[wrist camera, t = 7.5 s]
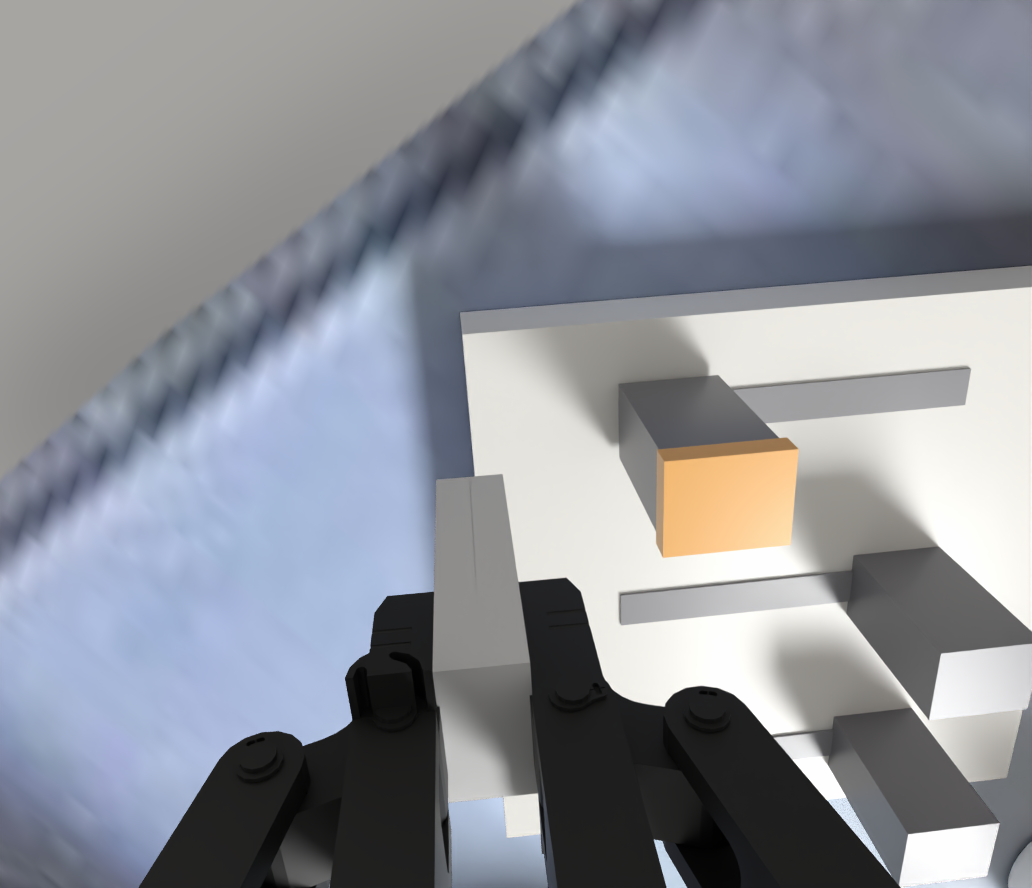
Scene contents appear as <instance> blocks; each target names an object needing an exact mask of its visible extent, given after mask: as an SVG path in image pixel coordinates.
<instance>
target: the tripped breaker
mask: <svg viewBox="0 0 1032 888" xmlns="http://www.w3.org/2000/svg"><path fill="white" fill-rule="evenodd" d="M618 385H619V458H620V460H621V462H622V464H623V466H624V468H625V470H626V472H627V474H628V476H629V478H630V480H631V482H632V484H633V486H634V488H635V490H636V492H637V494H638V496H639V498H640V500H641V502H642V504H643V506H644V508H645V510H646V512H647V514H648V516H649V519H650V521H651V523H652V525H653V527H654V529H655V531H656V544H657V547H658V549H659V551H660V553H661V555H662V557H663V558H667V557H677V556H687V555H697V554H706V553H716V552H726V551H736V550H746V549H756V548H766V547H776V546H786V545H791V534H792V522H793V511H794V499H795V487H796V476H797V464H798V453H799V449H798V448H797V447H796V446H795V445H794V444H793V443H792V442H791V441H790V440H789V439H788V438H787V437H786V438H779V437H778V436H777V435H776V434H775V433H774V432H773V431H772V430H771V429H770V428H769V427H768V426H767V425H766V424H765V423H764V422H763V421H762V420H761V419H760V418H759V417H758V416H757V414H756V413H755V412H754V411H753V410H752V409H751V408H750V407H749V406H748V405H747V404H746V403H745V402H744V401H743V400H742V399H741V398H740V397H739V396H738V395H737V394H736V393H735V392H734V391H733V390H732V389H731V388H730V387H729V386H728V385H727V384H726V383H725V382H724V381H723V380H722V378H721V377H720V376H719V375H712V376H701V377H690V378H678V379H667V380H655V381H644V382H633V383H621V384H618Z"/></svg>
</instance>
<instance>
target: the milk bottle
mask: <svg viewBox="0 0 1032 888" xmlns="http://www.w3.org/2000/svg"><path fill="white" fill-rule="evenodd" d="M1008 888H1032V841H1031V842H1030V843H1029V844H1028V845H1027V846H1026V847H1025V848H1024V850H1023V851H1022V852H1021V853H1020V854H1019V856H1018V857H1017V859H1016V861H1015V863H1014V864H1013V866H1012V868H1011V872H1010V875H1009V877H1008Z"/></svg>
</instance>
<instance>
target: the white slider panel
mask: <svg viewBox="0 0 1032 888" xmlns="http://www.w3.org/2000/svg"><path fill="white" fill-rule="evenodd" d="M460 320H461V331H462V342H463V353H464V365H465V376H466V387H467V399H468V410H469V421H470V432H471V444H472V455H473V466H474V476H485V475H496V474H503V480H504V487H505V494H506V500H507V507H508V514H509V521H510V528H511V535H512V542H513V548H514V555H515V562H516V569H517V576H518V582H524V581H535V580H545V579H556V578H567V579H568V580H569V581H571V582H572V583H573V584H574V585H575V586H576V587H577V588H578V589H579V590H580V591H581V594H582V598H583V602H584V605H585V611H586V613H587V617H588V621H589V626H590V628H591V632H592V636H593V640H594V643H595V647H596V651H597V655H598V659H599V662H600V666H601V670H602V674H603V676H604V679H605V681H607V682H608V683H609V685H610V687H611V688H612V690H614V691H615V692H616V693H618V694H619V695H621V696H622V697H625V698H627V699H629V700H632V701H635V702H639V703H644V704H649V705H656V706H663V707H665V703H666V702H667V701H668V700H669V698H670V697H671V696H672V695H673V694H674V693H676V692H678V691H680V690H682V689H684V688H688V687H696V686H708V687H715V688H719V689H722V690H724V691H727V692H729V693H732V694H734V695H735V696H736V697H737V698H738V699H740V700H741V701H742V702H743V703H745V705H746V706H747V707H748V708H749V709H750V710H751V712H752V713H753V714H754V715H755V716H756V717H757V719H758V720H759V721H760V722H761V723H762V725H763V726H764V727H765V728H766V729H767V730H768V732H769V733H770V734H771V735H772V736H773V737H774V739H775V740H776V741H777V742H778V743H779V745H780V746H781V747H782V748H783V749H784V750H785V752H786V753H787V754H788V755H789V756H790V758H791V759H792V760H793V761H794V762H795V763H796V765H797V766H798V767H799V768H800V769H801V770H802V772H803V773H804V774H805V775H806V776H807V778H808V779H809V780H810V781H811V782H812V783H813V785H814V786H815V787H816V788H817V789H818V791H819V792H820V793H821V794H822V795H823V796H824V798H825V799H826V800H828V799H836V798H844V797H846V798H847V799H848V801H849V803H850V805H851V806H852V808H853V810H854V812H855V813H856V815H857V817H858V818H859V820H860V822H861V824H862V825H863V827H864V829H865V831H866V832H867V834H868V836H869V837H870V839H871V841H872V843H873V844H874V846H875V848H876V850H877V851H878V853H879V855H880V857H881V858H882V860H883V862H884V863H885V865H886V867H887V869H888V870H889V872H890V874H891V876H892V877H893V879H894V880H895V881H896V882H897V884H898V885H899V886H900V887H907V886H915V885H923V884H931V883H939V882H947V881H955V880H962V879H970V878H978V877H986V876H987V874H988V870H989V866H990V862H991V858H992V853H993V849H994V845H995V841H996V837H997V833H998V829H999V824H1000V823H999V821H998V820H997V819H996V817H995V816H994V815H993V813H992V812H991V811H990V810H989V808H988V807H987V806H986V804H985V803H984V802H983V800H982V799H981V798H980V796H979V795H978V794H977V793H976V791H975V790H974V789H973V787H972V786H971V785H970V783H969V782H978V781H986V780H994V779H1003V778H1007V775H1008V770H1009V766H1010V762H1011V758H1012V754H1013V750H1014V745H1015V741H1016V737H1017V733H1018V729H1019V724H1020V720H1021V716H1022V712H1023V710H1024V709H1028V705H1029V700H1030V696H1031V692H1032V266H1021V267H1009V268H996V269H984V270H972V271H960V272H947V273H935V274H923V275H911V276H899V277H886V278H874V279H862V280H850V281H837V282H825V283H813V284H801V285H789V286H776V287H764V288H752V289H740V290H727V291H715V292H703V293H691V294H679V295H666V296H654V297H642V298H630V299H617V300H605V301H593V302H581V303H569V304H556V305H544V306H532V307H520V308H508V309H495V310H483V311H471V312H460ZM712 375H719V376H720V377H721V378H722V380H723V381H724V382H725V383H726V384H727V385H728V386H729V387H730V388H731V389H732V390H733V391H734V392H735V393H736V394H737V395H738V396H739V397H740V398H741V399H742V400H743V401H744V402H745V403H746V404H747V405H748V406H749V407H750V408H751V409H752V410H753V411H754V412H755V413H756V414H757V416H758V417H759V418H760V419H761V420H762V421H763V422H764V423H765V424H766V425H767V426H768V427H769V428H770V429H771V430H772V431H773V432H774V433H775V434H776V435H777V436H778V437H779V438H786V437H787V438H788V439H789V440H790V441H791V442H792V443H793V444H794V445H795V446H796V447H797V448H798V449H799V453H798V464H797V476H796V487H795V499H794V511H793V522H792V534H791V545H786V546H776V547H766V548H756V549H746V550H736V551H726V552H716V553H706V554H697V555H687V556H677V557H667V558H663V557H662V555H661V553H660V551H659V549H658V547H657V544H656V531H655V529H654V527H653V525H652V523H651V521H650V519H649V516H648V514H647V512H646V510H645V508H644V506H643V504H642V502H641V500H640V498H639V496H638V494H637V492H636V490H635V488H634V486H633V484H632V482H631V480H630V478H629V476H628V474H627V472H626V470H625V468H624V466H623V464H622V462H621V460H620V458H619V385H618V384H621V383H633V382H644V381H655V380H667V379H678V378H690V377H701V376H712ZM503 802H504V813H505V823H506V833H507V838H511V837H520V836H528V835H536V834H541V831H540V815H539V800H538V793H537V794H527V795H518V796H508V797H503Z"/></svg>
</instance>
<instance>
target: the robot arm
mask: <svg viewBox="0 0 1032 888" xmlns="http://www.w3.org/2000/svg"><path fill="white" fill-rule="evenodd" d="M370 646H371V649H370V653H369V654H367V655H365V656H363V657H361V658H359V659H358V660H357V661H356V662H355V663H354V664H353V665H352V666H351V667H350V668H349V670H348V673H347V675H346V677H345V681H346V687H347V692H348V698H349V703H350V709H351V714H352V722H351V723H350V724H349V725H347V726H346V727H345V728H343V729H342V730H340V731H339V732H337V733H336V734H334V735H331V736H329V737H327V738H325V739H322V740H319V741H316V742H313V743H311V744H308V745H305V746H302V743H301V742H300V741H299V740H298V739H297V738H295V737H294V736H293V735H291V734H287V733H283V732H279V731H276V732H262V733H259V734H256V735H253V736H250V737H247V738H244V739H243V740H241V741H240V742H238V743H237V744H235V745H234V746H232V747H230V748H229V749H228V751H227V752H226V753H225V754H224V755H223V756H222V757H221V758H220V760H219V761H218V762H217V764H216V766H215V767H214V769H213V770H212V772H211V774H210V775H209V777H208V778H207V780H206V782H205V783H204V785H203V786H202V788H201V789H200V791H199V793H198V794H197V796H196V797H195V799H194V801H193V802H192V804H191V805H190V807H189V808H188V810H187V812H186V813H185V815H184V816H183V818H182V820H181V821H180V823H179V824H178V826H177V828H176V829H175V831H174V832H173V834H172V835H171V837H170V839H169V840H168V842H167V843H166V845H165V847H164V848H163V850H162V851H161V853H160V855H159V856H158V858H157V859H156V861H155V862H154V864H153V866H152V867H151V869H150V870H149V872H148V874H147V875H146V877H145V878H144V880H143V881H142V883H141V885H140V886H139V888H452V863H451V826H450V818H449V810H448V799H449V803H452V802H462V801H471V800H480V799H490V798H499V797H508V796H518V795H527V794H537V793H538V800H539V815H540V831H541V846H542V854H544V858H545V866H546V874H547V882H548V888H666V884H665V880H664V877H663V873H662V869H661V866H660V862H659V858H658V854H657V851H656V847H655V843H654V840H653V839H655V840H661V841H663V844H664V847H665V850H666V852H667V853H668V855H669V857H670V859H671V860H672V862H673V864H674V865H675V867H676V869H677V871H678V872H679V874H680V876H681V877H682V879H683V881H684V883H685V884H686V886H687V888H901V887H900V886H899V885H898V884H897V882H896V881H895V880H894V879H893V878H892V877H891V875H890V874H889V873H888V872H887V871H886V869H885V868H884V867H883V866H882V865H881V864H880V862H879V861H878V860H877V859H876V858H875V856H874V855H873V854H872V853H871V852H870V851H869V849H868V848H867V847H866V846H865V845H864V844H863V842H862V841H861V840H860V839H859V838H858V836H857V835H856V834H855V833H854V832H853V831H852V829H851V828H850V827H849V826H848V825H847V824H846V822H845V821H844V820H843V819H842V818H841V816H840V815H839V814H838V813H837V812H836V811H835V809H834V808H833V807H832V806H831V805H830V803H829V802H828V801H827V800H826V799H825V798H824V796H823V795H822V794H821V793H820V792H819V791H818V789H817V788H816V787H815V786H814V785H813V783H812V782H811V781H810V780H809V779H808V778H807V776H806V775H805V774H804V773H803V772H802V770H801V769H800V768H799V767H798V766H797V765H796V763H795V762H794V761H793V760H792V759H791V758H790V756H789V755H788V754H787V753H786V752H785V750H784V749H783V748H782V747H781V746H780V745H779V743H778V742H777V741H776V740H775V739H774V737H773V736H772V735H771V734H770V733H769V732H768V730H767V729H766V728H765V727H764V726H763V725H762V723H761V722H760V721H759V720H758V719H757V717H756V716H755V715H754V714H753V713H752V712H751V710H750V709H749V708H748V707H747V706H746V705H745V703H743V702H742V701H741V700H740V699H738V698H737V697H736V696H735V695H734V694H732V693H729V692H727V691H724V690H722V689H719V688H715V687H708V686H696V687H688V688H684V689H682V690H680V691H678V692H676V693H674V694H673V695H672V696H671V697H670V698H669V700H668V701H667V702H666V703H665V707H663V706H656V705H649V704H644V703H639V702H635V701H632V700H629V699H627V698H625V697H622V696H621V695H619V694H618V693H616V692H615V691H614V690H612V688H611V687H610V685H609V683H608V682H607V681H605V679H604V676H603V674H602V670H601V666H600V662H599V659H598V655H597V651H596V647H595V643H594V640H593V636H592V632H591V628H590V626H589V621H588V617H587V613H586V611H585V605H584V602H583V598H582V594H581V591H580V590H579V589H578V588H577V587H576V586H575V585H574V584H573V583H572V582H571V581H569V580H568V579H567V578H556V579H545V580H535V581H524V582H518V576H517V569H516V562H515V555H514V548H513V542H512V535H511V528H510V521H509V514H508V507H507V500H506V494H505V487H504V480H503V474H496V475H485V476H473V477H462V478H451V479H439V480H436V516H435V568H434V592H427V593H416V594H405V595H395V596H387V597H386V599H385V600H384V601H383V603H382V604H381V605H380V607H379V608H378V609H377V610H376V612H375V614H374V621H373V629H372V637H371V645H370ZM330 879H331V880H330ZM329 884H330V887H329Z"/></svg>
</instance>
